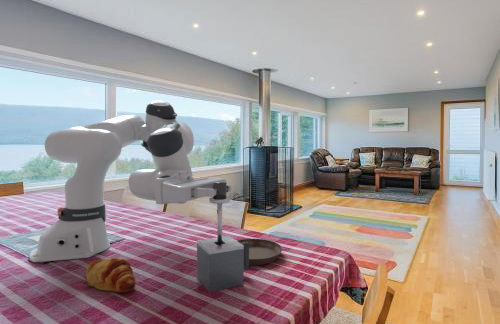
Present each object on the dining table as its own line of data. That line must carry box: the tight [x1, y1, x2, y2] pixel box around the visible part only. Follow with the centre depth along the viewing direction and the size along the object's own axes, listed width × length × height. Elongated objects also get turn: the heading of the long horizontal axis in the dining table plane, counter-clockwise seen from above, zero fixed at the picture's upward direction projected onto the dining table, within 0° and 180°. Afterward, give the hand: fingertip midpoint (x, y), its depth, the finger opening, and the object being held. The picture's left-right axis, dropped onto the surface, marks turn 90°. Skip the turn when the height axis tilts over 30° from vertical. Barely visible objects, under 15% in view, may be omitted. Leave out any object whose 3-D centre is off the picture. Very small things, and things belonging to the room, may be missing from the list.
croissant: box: [85, 256, 137, 293], centre depth 81 cm, size 21×10×8 cm, turn 51°
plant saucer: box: [236, 238, 283, 266], centre depth 100 cm, size 18×18×3 cm
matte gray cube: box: [196, 235, 250, 294], centre depth 82 cm, size 12×9×10 cm
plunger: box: [208, 181, 231, 244], centre depth 81 cm, size 5×5×15 cm
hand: (222, 190), depth 80 cm, fingers open, 6 cm apart
